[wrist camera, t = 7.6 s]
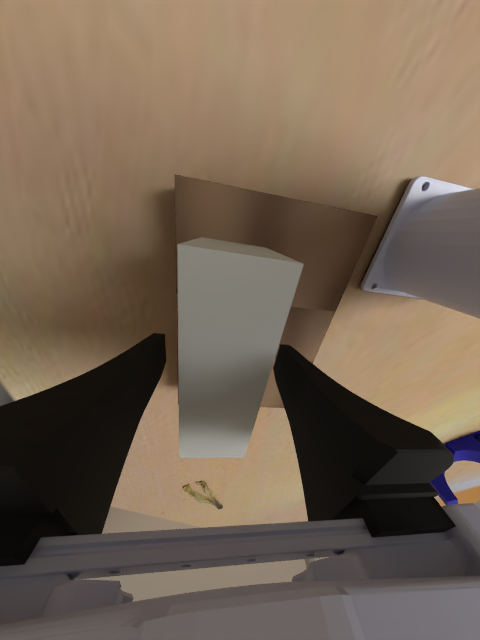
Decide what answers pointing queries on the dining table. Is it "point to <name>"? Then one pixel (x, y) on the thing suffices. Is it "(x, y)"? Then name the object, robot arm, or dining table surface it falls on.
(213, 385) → the grey rubber bar
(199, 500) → the tongs
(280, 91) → the dining table surface
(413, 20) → the dining table surface
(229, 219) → the notched shelf
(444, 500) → the cable clip
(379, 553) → the robot arm
